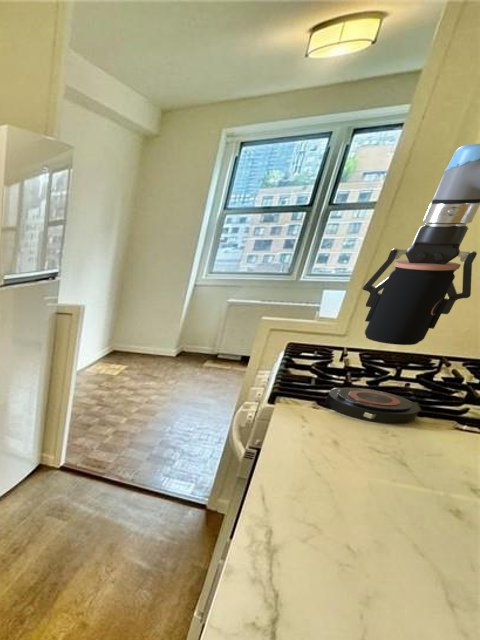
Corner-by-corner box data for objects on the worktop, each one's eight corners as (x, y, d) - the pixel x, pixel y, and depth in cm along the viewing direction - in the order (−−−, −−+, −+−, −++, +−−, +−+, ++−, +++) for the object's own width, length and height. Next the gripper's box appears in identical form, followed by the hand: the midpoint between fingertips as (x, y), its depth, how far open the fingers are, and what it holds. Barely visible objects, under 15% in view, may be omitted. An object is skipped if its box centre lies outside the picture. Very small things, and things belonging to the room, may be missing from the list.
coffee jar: (427, 348, 113) (468, 267, 105) (366, 342, 119) (401, 265, 110) (415, 337, 121) (452, 260, 113) (358, 332, 126) (390, 259, 118)
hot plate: (433, 419, 110) (441, 406, 109) (378, 427, 107) (385, 415, 106) (358, 393, 124) (364, 382, 122) (308, 401, 121) (313, 389, 119)
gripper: (372, 225, 113) (334, 319, 123) (526, 227, 98) (468, 334, 108) (376, 223, 117) (339, 314, 128) (524, 224, 102) (468, 328, 113)
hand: (398, 323), depth 118 cm, fingers closed on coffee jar, 11 cm apart
